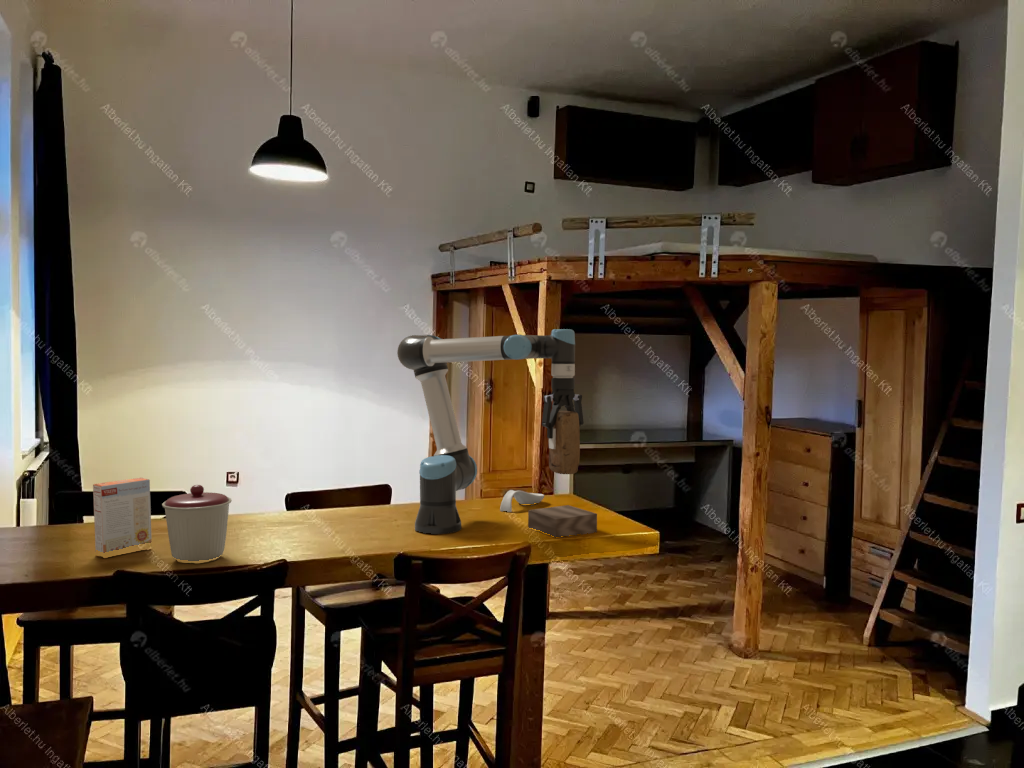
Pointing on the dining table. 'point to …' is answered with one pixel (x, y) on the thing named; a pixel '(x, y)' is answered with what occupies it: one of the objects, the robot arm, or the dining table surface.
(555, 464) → the block
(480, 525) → the dining table surface
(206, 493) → the canister
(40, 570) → the dining table surface
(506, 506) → the spoon rest
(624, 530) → the dining table surface
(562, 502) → the dining table surface
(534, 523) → the base block
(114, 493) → the cracker box
